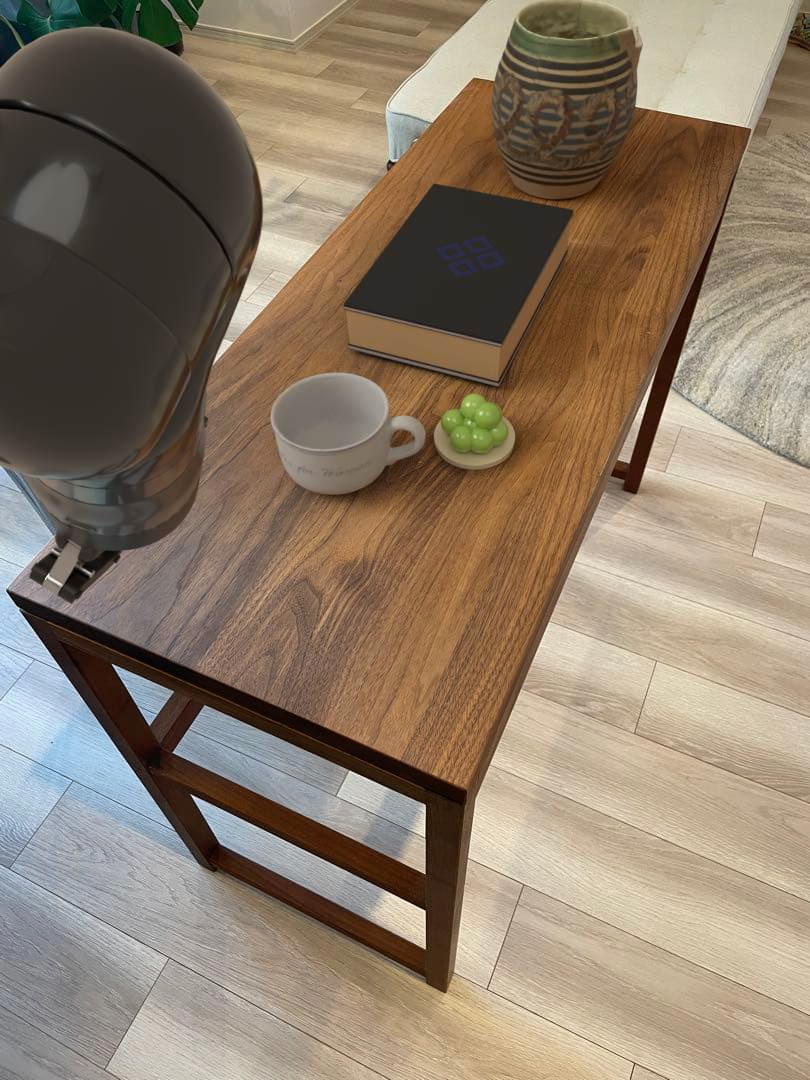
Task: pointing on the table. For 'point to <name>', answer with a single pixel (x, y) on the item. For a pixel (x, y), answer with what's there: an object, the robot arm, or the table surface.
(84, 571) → the robot arm
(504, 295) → the book
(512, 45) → the pottery
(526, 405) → the table surface
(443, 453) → the grapes
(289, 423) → the teacup
